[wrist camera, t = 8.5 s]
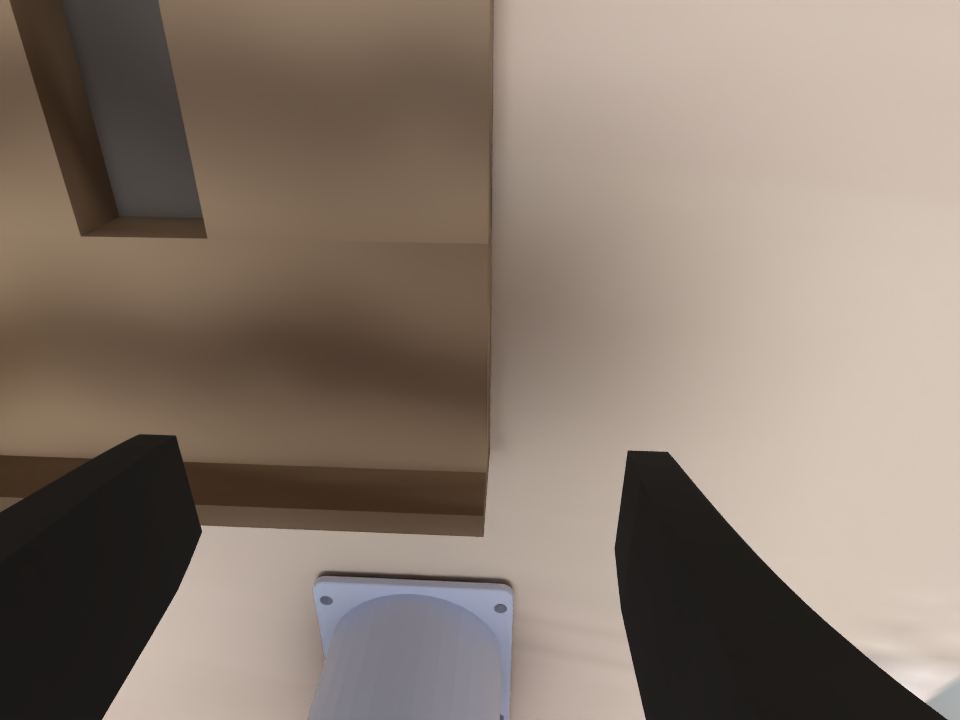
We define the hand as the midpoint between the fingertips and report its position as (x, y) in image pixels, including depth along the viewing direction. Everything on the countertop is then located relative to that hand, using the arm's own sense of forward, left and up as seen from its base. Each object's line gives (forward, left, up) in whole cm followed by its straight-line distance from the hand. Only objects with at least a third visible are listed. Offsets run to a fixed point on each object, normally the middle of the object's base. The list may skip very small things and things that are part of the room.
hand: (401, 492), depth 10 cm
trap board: (+1, +11, -10) cm, 15 cm away
